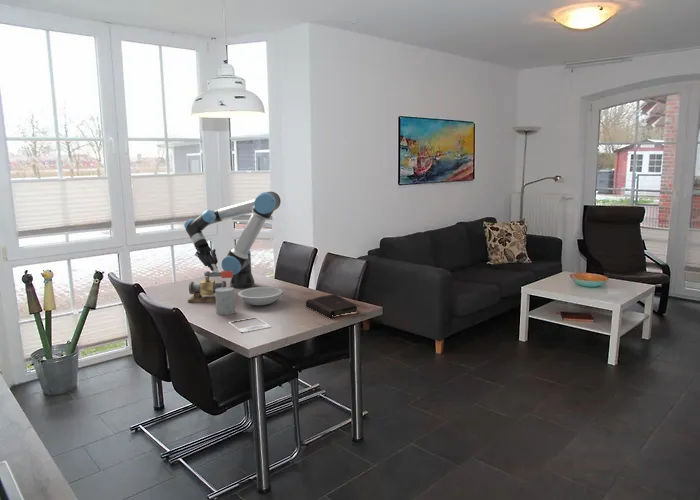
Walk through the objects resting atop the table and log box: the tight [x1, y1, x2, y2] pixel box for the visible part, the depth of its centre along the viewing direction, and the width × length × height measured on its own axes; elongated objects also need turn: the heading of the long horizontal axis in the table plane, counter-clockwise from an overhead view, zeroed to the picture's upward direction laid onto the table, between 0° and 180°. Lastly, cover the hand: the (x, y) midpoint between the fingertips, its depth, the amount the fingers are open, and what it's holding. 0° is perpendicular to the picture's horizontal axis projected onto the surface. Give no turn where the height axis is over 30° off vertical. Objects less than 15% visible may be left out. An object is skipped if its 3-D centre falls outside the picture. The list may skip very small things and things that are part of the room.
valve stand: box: [187, 276, 227, 304], centre depth 289 cm, size 20×11×13 cm, turn 91°
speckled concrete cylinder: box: [214, 286, 236, 316], centre depth 265 cm, size 10×10×12 cm
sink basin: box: [237, 286, 284, 306], centre depth 281 cm, size 24×24×7 cm
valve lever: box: [203, 270, 233, 279], centre depth 289 cm, size 3×16×4 cm, turn 95°
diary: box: [305, 293, 360, 319], centre depth 268 cm, size 19×25×5 cm
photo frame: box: [227, 316, 272, 333], centre depth 245 cm, size 15×1×18 cm
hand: (217, 274), depth 295 cm, fingers closed
